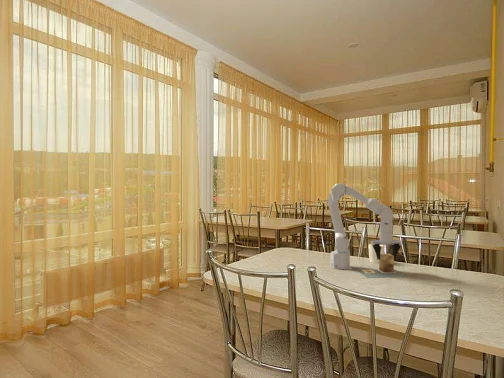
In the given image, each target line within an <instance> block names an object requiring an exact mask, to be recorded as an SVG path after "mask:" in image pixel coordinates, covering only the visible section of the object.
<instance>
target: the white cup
mask: <svg viewBox="0 0 504 378" xmlns="http://www.w3.org/2000/svg"><path fill="white" fill-rule="evenodd" d="M380 246H381V252H380V254H384V250H385V249H384V246H385V245H380ZM368 258H369V259H368V260H369V262H370V263H372V264H379V260H378V259H377V256H376V252H375V250H374V248H373V246H372V244H371V243H368Z"/></svg>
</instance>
